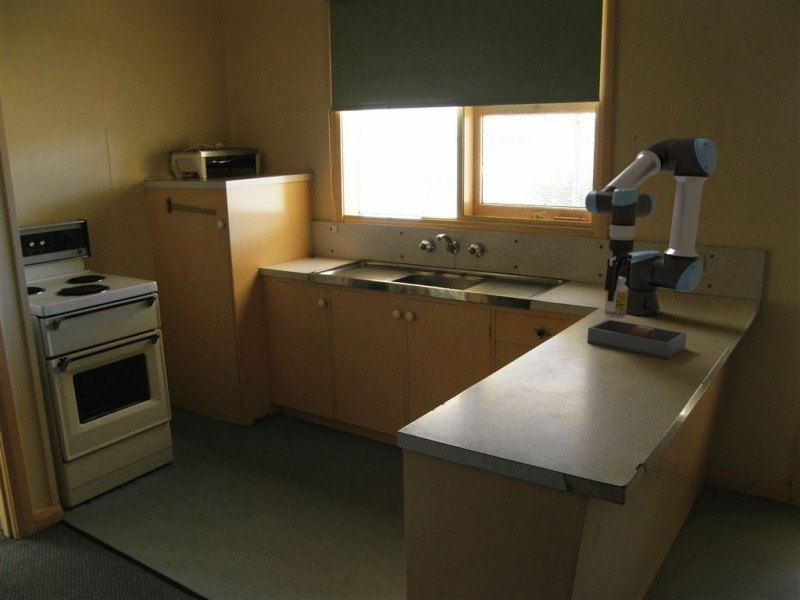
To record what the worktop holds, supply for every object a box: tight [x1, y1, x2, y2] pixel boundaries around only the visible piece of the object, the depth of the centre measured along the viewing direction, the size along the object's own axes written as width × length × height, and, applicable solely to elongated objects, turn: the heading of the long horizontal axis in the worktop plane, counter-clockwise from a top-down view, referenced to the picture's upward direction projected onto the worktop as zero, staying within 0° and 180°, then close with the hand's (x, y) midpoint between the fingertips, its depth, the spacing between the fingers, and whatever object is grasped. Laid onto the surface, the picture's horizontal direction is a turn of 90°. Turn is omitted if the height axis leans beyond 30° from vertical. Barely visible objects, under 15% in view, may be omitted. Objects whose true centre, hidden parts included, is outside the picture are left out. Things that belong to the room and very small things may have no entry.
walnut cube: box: [632, 326, 654, 339], centre depth 222 cm, size 5×5×5 cm
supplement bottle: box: [604, 276, 628, 319], centre depth 225 cm, size 7×7×13 cm
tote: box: [586, 318, 687, 360], centre depth 223 cm, size 15×26×5 cm, turn 49°
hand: (615, 308), depth 226 cm, fingers closed on supplement bottle, 7 cm apart
